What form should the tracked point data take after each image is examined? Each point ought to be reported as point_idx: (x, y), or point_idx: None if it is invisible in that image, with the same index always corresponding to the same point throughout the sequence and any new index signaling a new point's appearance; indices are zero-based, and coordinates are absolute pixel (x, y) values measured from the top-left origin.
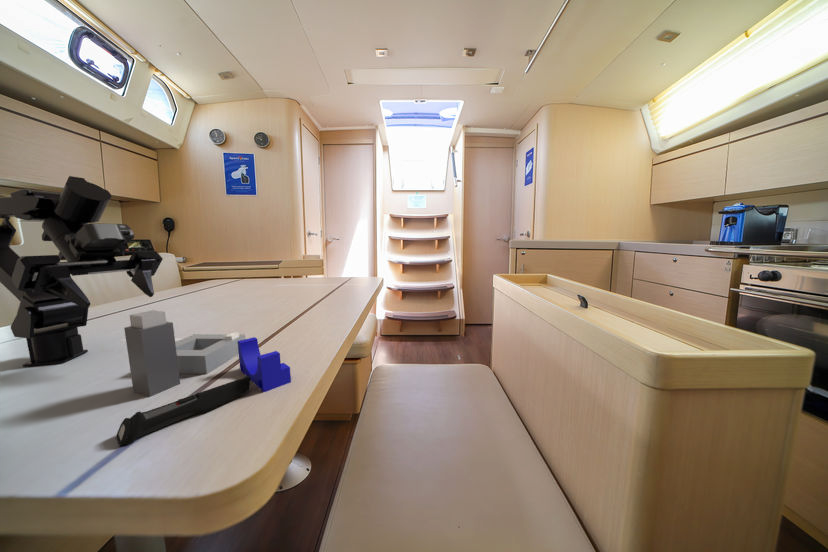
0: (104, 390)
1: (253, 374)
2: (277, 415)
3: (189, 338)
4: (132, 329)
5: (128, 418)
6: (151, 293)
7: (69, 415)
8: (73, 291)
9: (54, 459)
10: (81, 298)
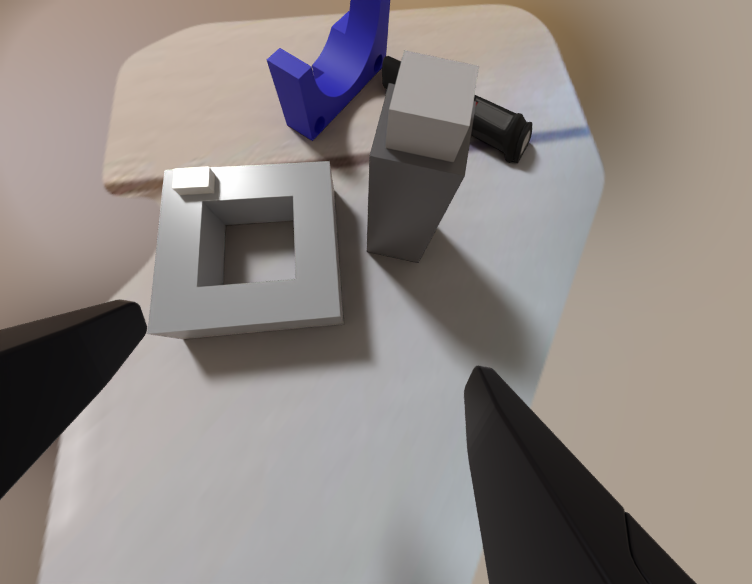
0: (423, 328)
1: (356, 77)
2: (434, 24)
3: (194, 310)
4: (470, 137)
5: (523, 130)
6: (134, 304)
7: (500, 289)
8: (587, 471)
9: (564, 192)
10: (522, 401)
